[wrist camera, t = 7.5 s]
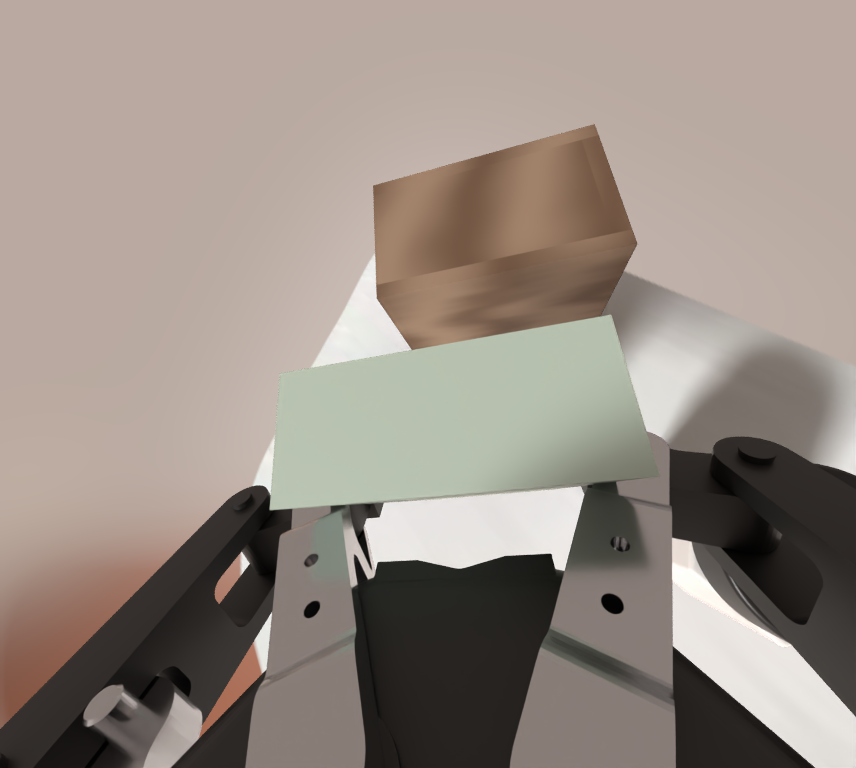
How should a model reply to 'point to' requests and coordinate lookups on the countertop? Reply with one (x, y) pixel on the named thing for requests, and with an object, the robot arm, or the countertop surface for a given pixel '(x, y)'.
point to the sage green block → (462, 420)
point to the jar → (728, 580)
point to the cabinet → (501, 241)
